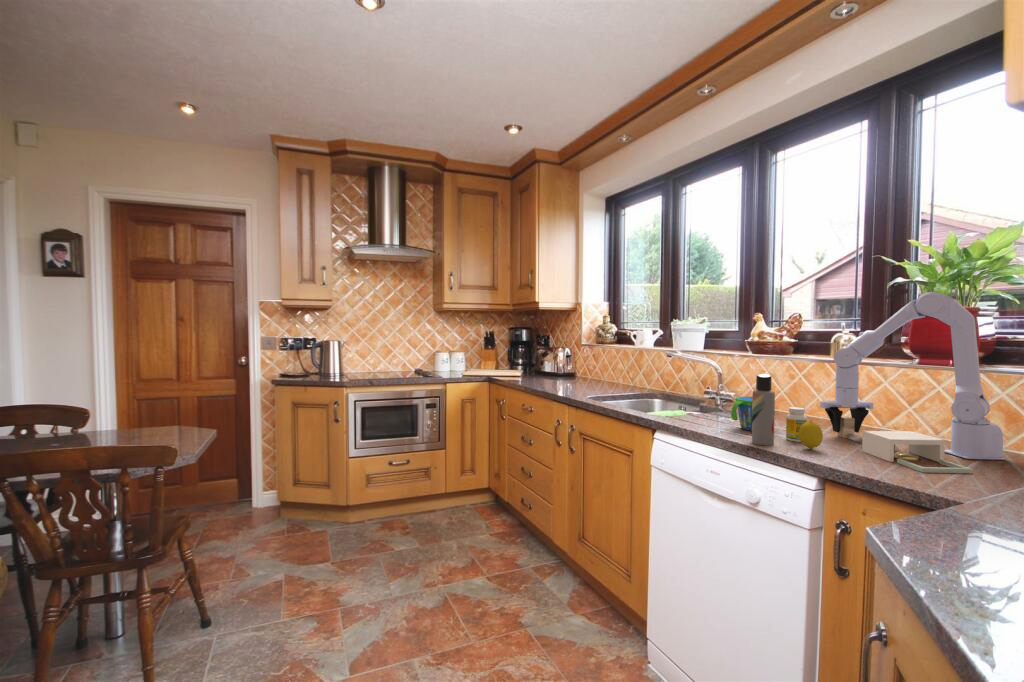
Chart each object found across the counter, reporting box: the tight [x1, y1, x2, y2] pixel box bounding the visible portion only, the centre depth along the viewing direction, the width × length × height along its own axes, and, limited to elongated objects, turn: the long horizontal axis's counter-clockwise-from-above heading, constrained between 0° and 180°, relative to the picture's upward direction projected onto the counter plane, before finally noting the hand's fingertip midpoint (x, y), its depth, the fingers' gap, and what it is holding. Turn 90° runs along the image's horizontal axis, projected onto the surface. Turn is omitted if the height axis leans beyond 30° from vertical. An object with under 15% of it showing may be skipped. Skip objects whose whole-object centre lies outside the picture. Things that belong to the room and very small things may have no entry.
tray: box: [896, 459, 973, 474], centre depth 113 cm, size 11×8×1 cm
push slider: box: [837, 416, 896, 452], centre depth 137 cm, size 18×6×6 cm, turn 177°
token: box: [894, 451, 920, 462], centre depth 121 cm, size 5×5×1 cm
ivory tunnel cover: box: [861, 430, 946, 463], centre depth 123 cm, size 13×10×6 cm
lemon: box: [799, 420, 824, 450], centre depth 130 cm, size 6×6×8 cm
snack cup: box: [730, 396, 753, 432], centre depth 156 cm, size 16×10×10 cm
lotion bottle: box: [751, 373, 776, 447], centre depth 136 cm, size 6×6×20 cm
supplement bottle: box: [785, 406, 808, 443], centre depth 141 cm, size 5×5×10 cm
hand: (845, 431), depth 145 cm, fingers open, 5 cm apart
